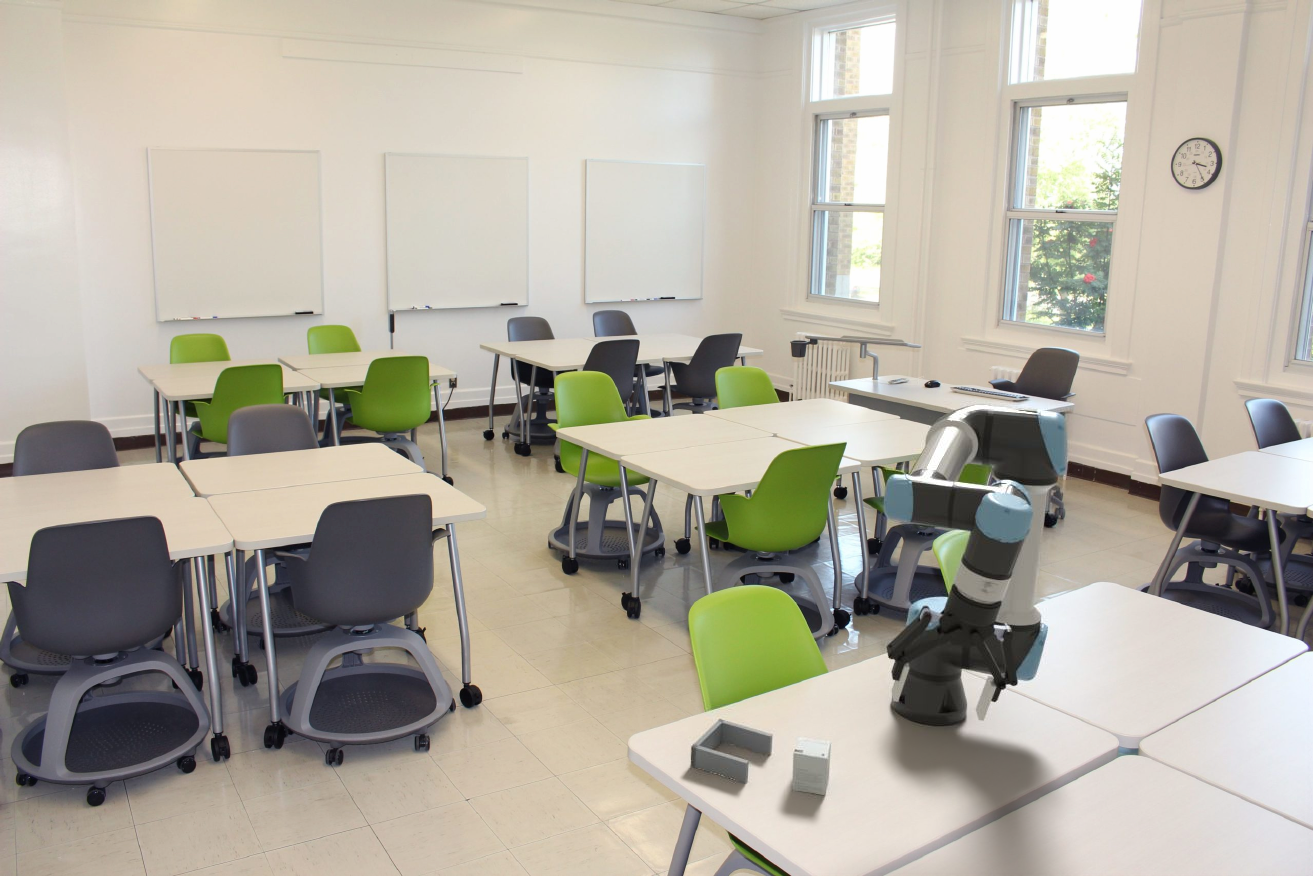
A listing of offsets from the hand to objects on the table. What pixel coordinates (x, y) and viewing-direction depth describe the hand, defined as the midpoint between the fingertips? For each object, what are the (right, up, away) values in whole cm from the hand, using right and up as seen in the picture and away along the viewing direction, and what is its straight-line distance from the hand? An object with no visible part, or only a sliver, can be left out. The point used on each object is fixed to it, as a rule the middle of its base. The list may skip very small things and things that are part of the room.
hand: (936, 705), depth 159 cm
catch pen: (-30, -18, +28) cm, 44 cm away
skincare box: (-17, -20, +21) cm, 33 cm away
